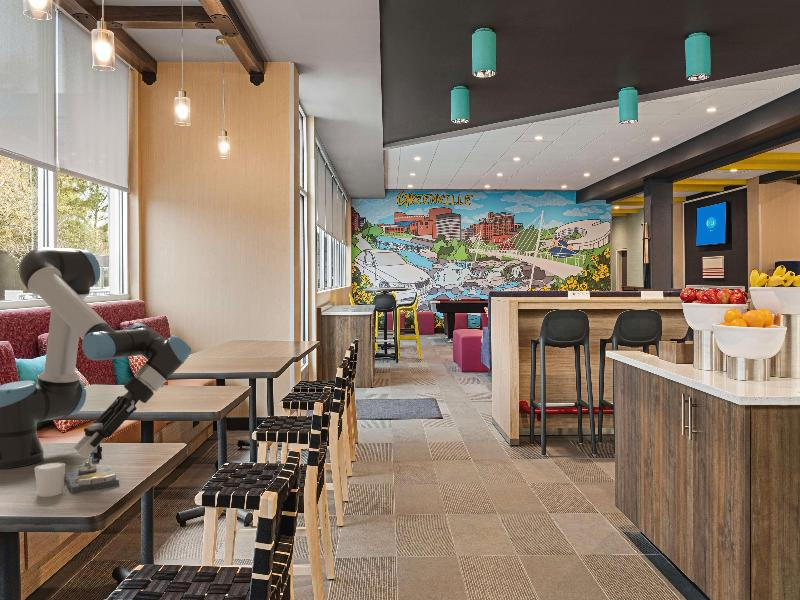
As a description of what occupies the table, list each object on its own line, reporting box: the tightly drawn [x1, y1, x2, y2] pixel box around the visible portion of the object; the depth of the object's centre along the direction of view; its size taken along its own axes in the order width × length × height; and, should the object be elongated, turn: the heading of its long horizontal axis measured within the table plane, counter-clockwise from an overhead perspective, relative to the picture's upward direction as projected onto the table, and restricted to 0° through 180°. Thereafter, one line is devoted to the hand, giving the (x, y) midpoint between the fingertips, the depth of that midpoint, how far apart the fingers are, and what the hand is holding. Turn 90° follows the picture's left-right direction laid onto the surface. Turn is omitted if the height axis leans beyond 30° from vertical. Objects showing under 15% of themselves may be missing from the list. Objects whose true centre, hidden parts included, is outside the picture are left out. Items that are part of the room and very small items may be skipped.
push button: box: [83, 422, 103, 465], centre depth 168 cm, size 7×5×10 cm
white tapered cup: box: [33, 462, 66, 498], centre depth 161 cm, size 7×7×7 cm
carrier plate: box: [64, 461, 120, 494], centre depth 170 cm, size 15×11×4 cm
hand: (79, 452), depth 166 cm, fingers closed on push button, 5 cm apart
